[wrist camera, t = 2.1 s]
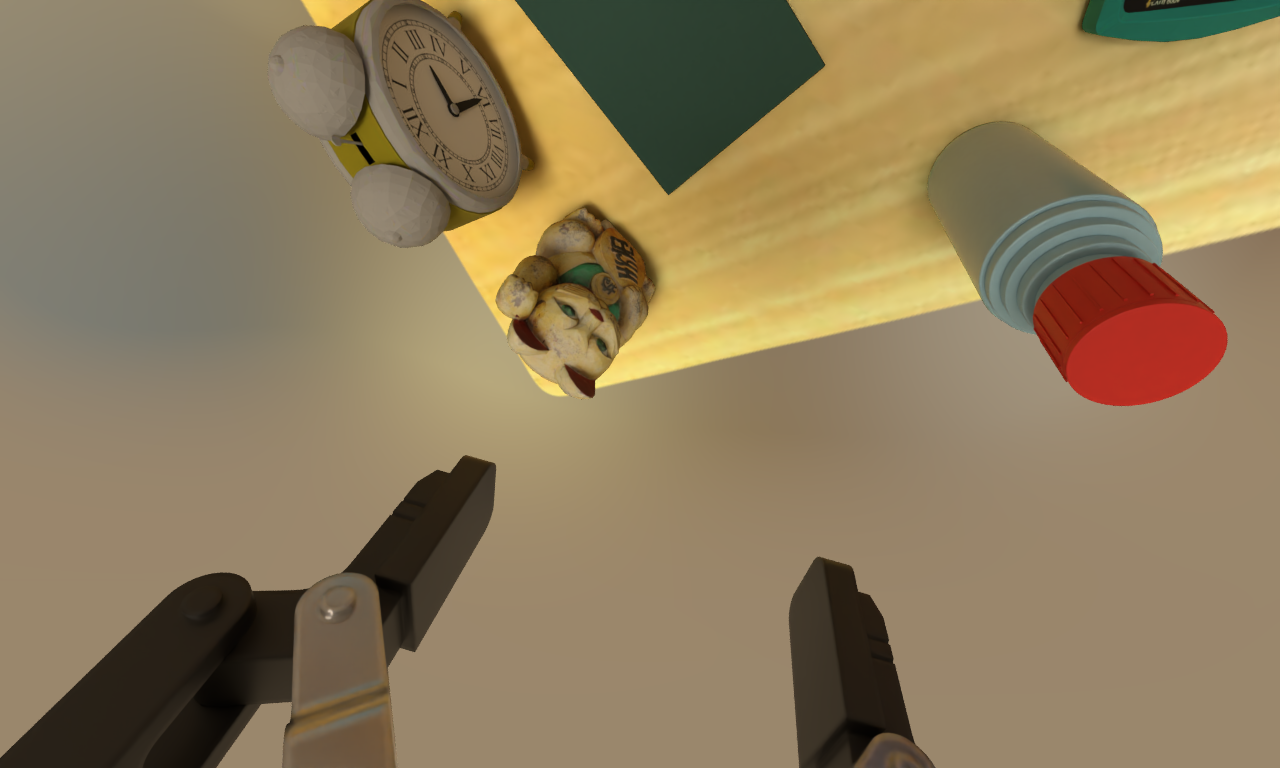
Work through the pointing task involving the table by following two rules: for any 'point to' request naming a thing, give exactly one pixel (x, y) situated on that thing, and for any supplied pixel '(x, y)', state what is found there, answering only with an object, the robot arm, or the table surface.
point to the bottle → (1029, 216)
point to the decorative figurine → (575, 302)
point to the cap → (1127, 332)
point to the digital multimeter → (1174, 17)
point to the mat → (679, 69)
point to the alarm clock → (403, 117)
